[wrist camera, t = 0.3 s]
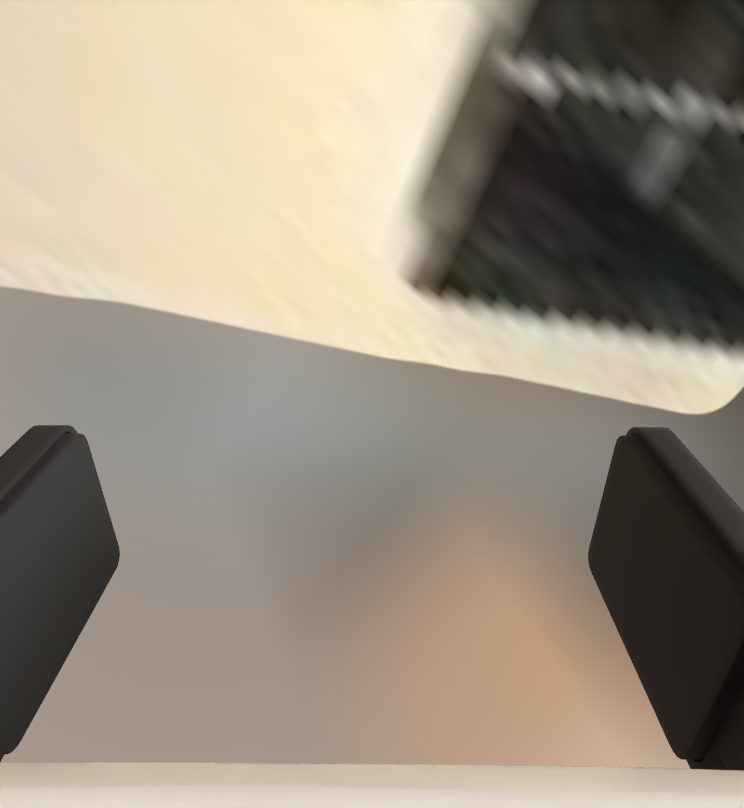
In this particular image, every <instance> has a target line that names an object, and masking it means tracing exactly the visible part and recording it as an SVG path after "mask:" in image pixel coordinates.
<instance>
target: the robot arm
mask: <svg viewBox="0 0 744 808" xmlns="http://www.w3.org/2000/svg"><path fill="white" fill-rule="evenodd" d="M119 556H120V553H119V546H118V542H117V539H116V536H115V532H114V529H113V526H112V522H111V519H110V516H109V512H108V509H107V505H106V502H105V499H104V495H103V492H102V488H101V485H100V482H99V478H98V475H97V472H96V468H95V465H94V462H93V458H92V455H91V452H90V448H89V445H88V442H87V439H86V437H85V436H84V435H82V434H78V433H77V431H76V430H75V429H74V428H73V427H71V426H68V425H66V426H65V425H55V426H54V425H52V426H51V425H44V426H43V425H38V426H34V427H32V428H31V429H29V430H28V431H27V432H26V433H25V434H24V435H23V436H22V437H21V438H20V439H19V440H18V441H17V442H16V443H15V444H13V445H12V446H11V447H10V448H9V449H8V450H7V451H6V452H5V453H4V454H3V455H2V456H1V457H0V761H1V759H2V758H3V756H4V754H9V753H11V752H12V751H13V750H14V749H15V748H16V747H17V746H18V744H19V742H20V741H21V739H22V738H23V736H24V734H25V732H26V730H27V728H28V727H29V725H30V723H31V721H32V720H33V717H34V716H35V714H36V712H37V711H38V709H39V707H40V705H41V703H42V701H43V700H44V698H45V696H46V694H47V693H48V691H49V689H50V687H51V685H52V683H53V682H54V680H55V678H56V676H57V675H58V673H59V671H60V669H61V667H62V665H63V664H64V662H65V660H66V658H67V656H68V655H69V653H70V651H71V649H72V648H73V646H74V644H75V642H76V640H77V639H78V636H79V635H80V633H81V631H82V630H83V628H84V626H85V624H86V622H87V621H88V619H89V617H90V615H91V613H92V611H93V610H94V608H95V606H96V604H97V602H98V601H99V599H100V597H101V595H102V593H103V591H104V590H105V588H106V586H107V584H108V583H109V581H110V579H111V577H112V575H113V574H114V572H115V570H116V568H117V565H118V562H119ZM588 559H589V566H590V569H591V572H592V575H593V576H594V579H595V581H596V583H597V585H598V588H599V590H600V592H601V594H602V597H603V599H604V601H605V603H606V605H607V608H608V610H609V612H610V614H611V616H612V619H613V621H614V623H615V625H616V628H617V630H618V632H619V634H620V636H621V638H622V641H623V643H624V645H625V647H626V649H627V652H628V654H629V656H630V658H631V660H632V663H633V665H634V667H635V669H636V672H637V674H638V676H639V678H640V680H641V683H642V685H643V687H644V689H645V691H646V694H647V696H648V698H649V700H650V702H651V705H652V707H653V709H654V711H655V713H656V716H657V718H658V720H659V722H660V724H661V727H662V729H663V731H664V733H665V736H666V738H667V740H668V742H669V744H670V746H671V748H672V750H673V752H674V753H675V754H676V756H677V757H679V758H680V759H686V760H687V762H688V764H689V766H690V768H691V769H675V768H674V769H673V768H642V767H582V766H580V767H578V766H507V765H505V766H504V765H503V766H502V765H432V764H430V765H428V764H422V765H421V764H313V763H303V764H302V763H130V762H129V763H125V762H124V763H123V762H121V763H120V762H117V763H115V762H107V763H106V762H105V763H103V762H101V763H100V762H95V763H94V762H80V763H79V762H0V808H744V512H743V511H742V510H741V508H740V507H739V506H738V505H737V504H736V503H735V502H734V501H733V499H732V498H731V497H730V496H729V495H728V494H727V493H726V491H725V490H724V489H723V488H722V487H721V486H720V485H719V484H718V483H717V481H716V480H715V479H714V478H713V477H712V476H711V475H710V474H709V472H708V471H707V470H706V469H705V468H704V467H703V466H702V464H701V463H700V462H699V461H698V460H697V459H696V458H695V457H694V455H692V453H691V452H690V451H689V450H688V449H687V448H686V447H685V445H683V443H682V442H681V441H680V440H679V439H678V438H677V436H676V435H675V434H674V433H673V432H672V431H671V430H670V429H668V428H649V427H646V428H645V427H644V428H643V427H639V428H638V427H633V428H631V429H630V430H629V431H628V433H627V435H626V436H620V437H619V438H618V439H617V442H616V445H615V448H614V453H613V456H612V460H611V464H610V468H609V473H608V476H607V480H606V484H605V488H604V492H603V496H602V500H601V504H600V508H599V512H598V515H597V520H596V523H595V527H594V531H593V535H592V539H591V543H590V547H589V552H588Z"/></svg>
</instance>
